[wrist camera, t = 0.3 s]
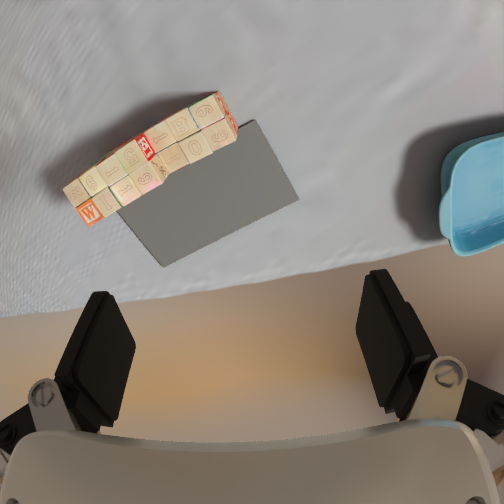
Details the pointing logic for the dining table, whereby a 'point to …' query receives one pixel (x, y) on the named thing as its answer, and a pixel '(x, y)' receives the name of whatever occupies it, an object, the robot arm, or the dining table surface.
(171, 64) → the dining table surface
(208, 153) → the stack of blocks
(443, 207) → the casserole dish
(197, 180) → the mat
